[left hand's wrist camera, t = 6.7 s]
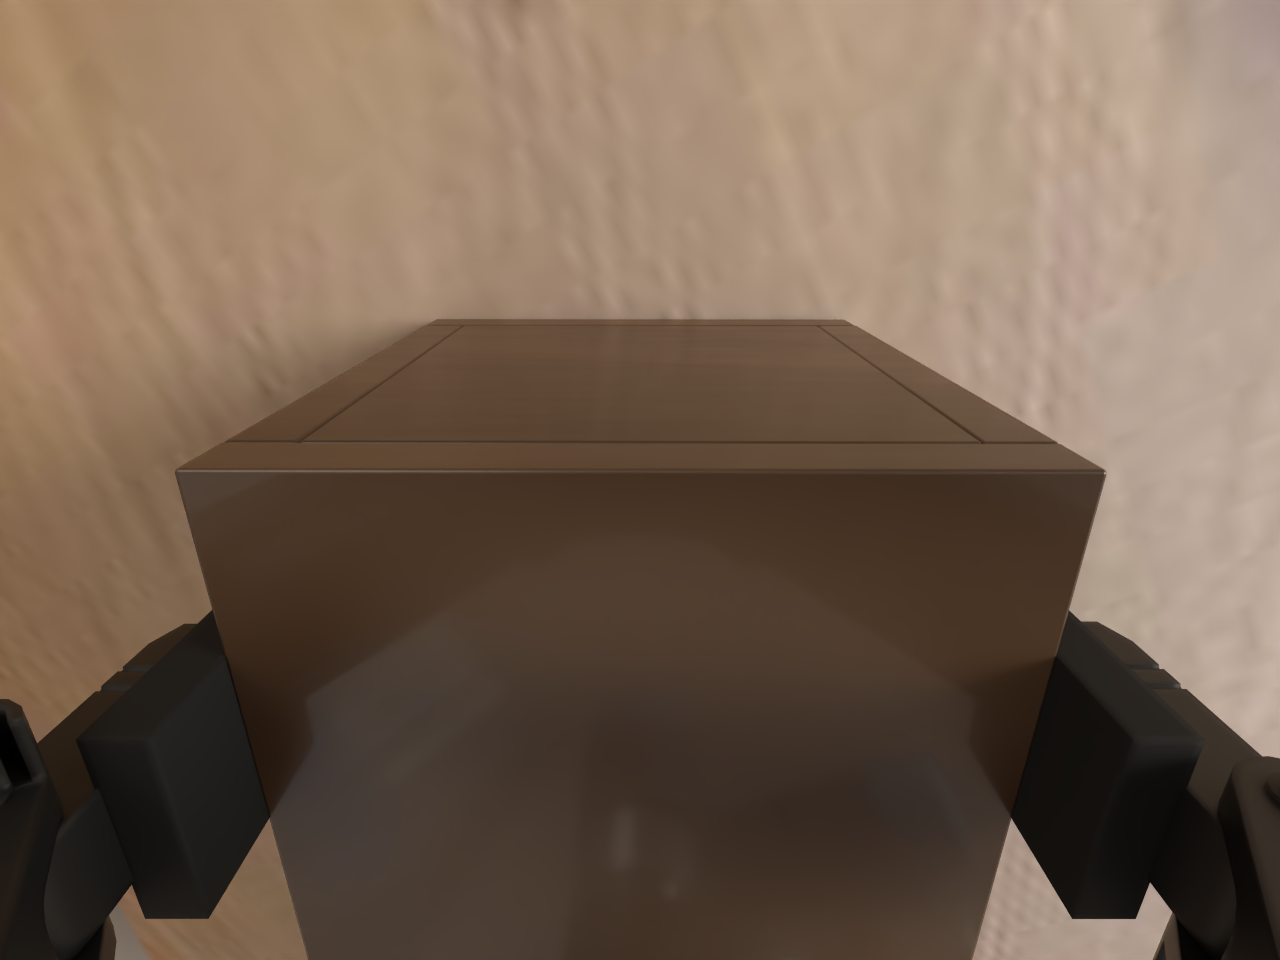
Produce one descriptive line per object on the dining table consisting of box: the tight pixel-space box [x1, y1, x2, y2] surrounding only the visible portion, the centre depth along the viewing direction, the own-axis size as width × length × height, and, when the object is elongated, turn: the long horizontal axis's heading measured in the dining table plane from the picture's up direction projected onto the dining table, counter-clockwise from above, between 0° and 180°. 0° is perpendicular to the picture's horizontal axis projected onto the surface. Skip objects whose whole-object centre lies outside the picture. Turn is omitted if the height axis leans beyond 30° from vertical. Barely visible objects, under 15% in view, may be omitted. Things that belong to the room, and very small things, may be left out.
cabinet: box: [175, 319, 1106, 960], centre depth 16 cm, size 21×10×10 cm, turn 0°
